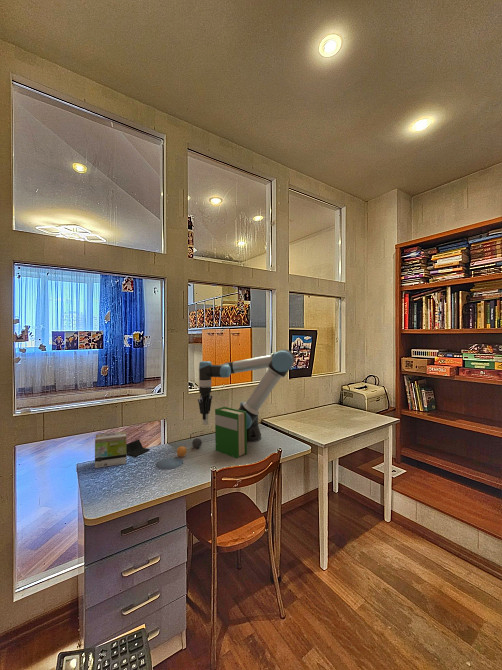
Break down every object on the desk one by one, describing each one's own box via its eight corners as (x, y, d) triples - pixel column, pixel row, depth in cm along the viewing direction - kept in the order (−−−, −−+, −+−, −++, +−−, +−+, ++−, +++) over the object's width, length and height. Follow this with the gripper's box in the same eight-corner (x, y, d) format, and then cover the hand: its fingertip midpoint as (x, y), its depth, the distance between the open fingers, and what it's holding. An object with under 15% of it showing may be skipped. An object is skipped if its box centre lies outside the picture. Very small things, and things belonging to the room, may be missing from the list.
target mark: (188, 460, 163) (188, 460, 163) (171, 471, 151) (171, 471, 151) (168, 456, 169) (168, 455, 169) (149, 466, 157) (149, 466, 157)
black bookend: (139, 454, 168) (131, 438, 171) (129, 462, 169) (121, 446, 172) (151, 450, 179) (143, 435, 182) (142, 457, 180) (135, 442, 183)
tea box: (94, 469, 154) (94, 440, 154) (95, 461, 164) (95, 434, 163) (126, 463, 160) (126, 435, 160) (126, 456, 170) (125, 430, 169)
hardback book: (246, 454, 171) (246, 411, 171) (237, 458, 165) (237, 414, 165) (224, 446, 183) (224, 406, 182) (215, 450, 177) (215, 409, 177)
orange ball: (189, 455, 170) (188, 445, 170) (182, 459, 165) (182, 448, 165) (181, 453, 173) (180, 444, 173) (174, 457, 168) (174, 447, 168)
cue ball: (203, 446, 183) (203, 437, 183) (198, 450, 178) (197, 440, 178) (195, 445, 185) (195, 436, 185) (190, 448, 180) (190, 439, 180)
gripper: (206, 384, 197) (206, 420, 198) (193, 387, 186) (193, 426, 186) (216, 385, 194) (216, 422, 195) (204, 388, 182) (204, 428, 183)
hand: (205, 424), depth 190 cm, fingers closed
